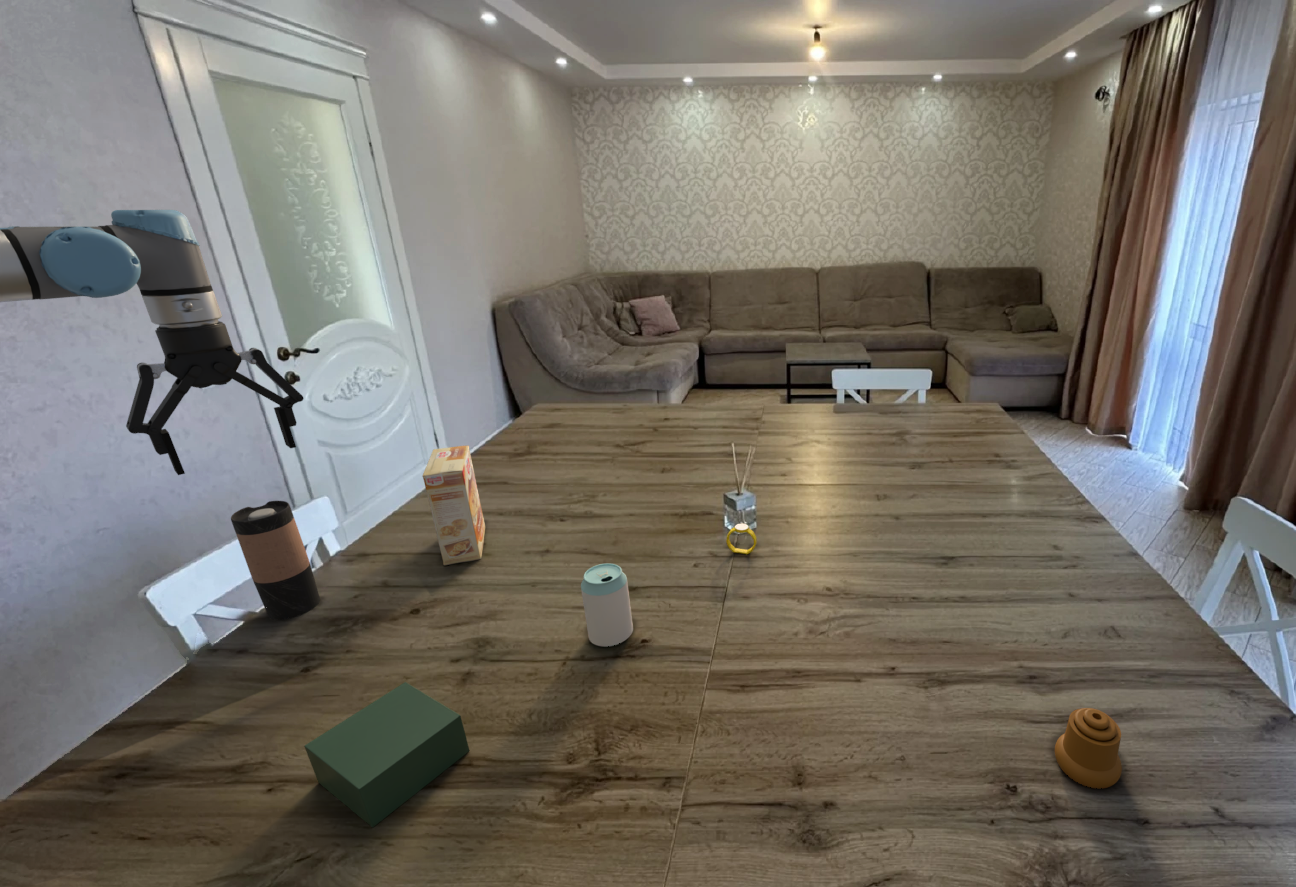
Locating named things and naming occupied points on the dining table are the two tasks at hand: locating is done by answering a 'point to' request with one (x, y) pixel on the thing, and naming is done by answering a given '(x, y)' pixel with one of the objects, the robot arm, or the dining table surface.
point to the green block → (387, 752)
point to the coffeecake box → (455, 504)
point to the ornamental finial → (1090, 749)
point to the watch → (741, 529)
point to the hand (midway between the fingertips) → (238, 458)
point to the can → (606, 605)
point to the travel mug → (276, 559)
